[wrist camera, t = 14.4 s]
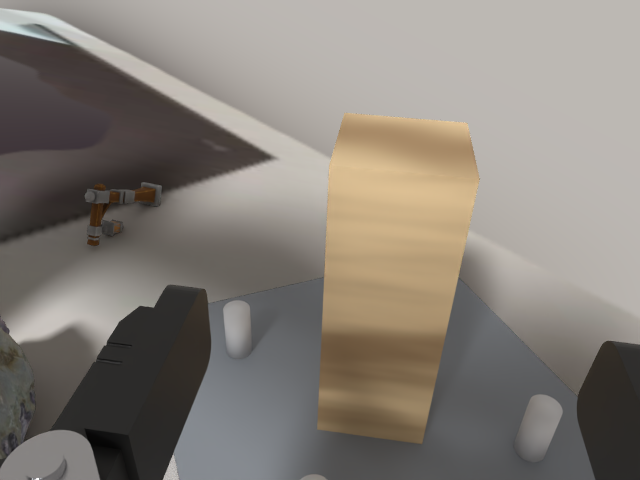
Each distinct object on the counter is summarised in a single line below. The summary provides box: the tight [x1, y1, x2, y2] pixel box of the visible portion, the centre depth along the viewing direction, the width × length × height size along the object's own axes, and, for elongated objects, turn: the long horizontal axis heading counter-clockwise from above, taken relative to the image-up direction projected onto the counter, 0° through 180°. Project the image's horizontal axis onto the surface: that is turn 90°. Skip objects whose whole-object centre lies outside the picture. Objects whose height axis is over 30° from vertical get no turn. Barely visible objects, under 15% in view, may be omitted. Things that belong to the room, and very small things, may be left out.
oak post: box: [317, 113, 480, 444], centre depth 24 cm, size 5×5×14 cm
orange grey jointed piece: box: [85, 182, 162, 246], centre depth 43 cm, size 2×8×4 cm, turn 161°
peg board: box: [174, 277, 595, 480], centre depth 28 cm, size 20×20×4 cm
